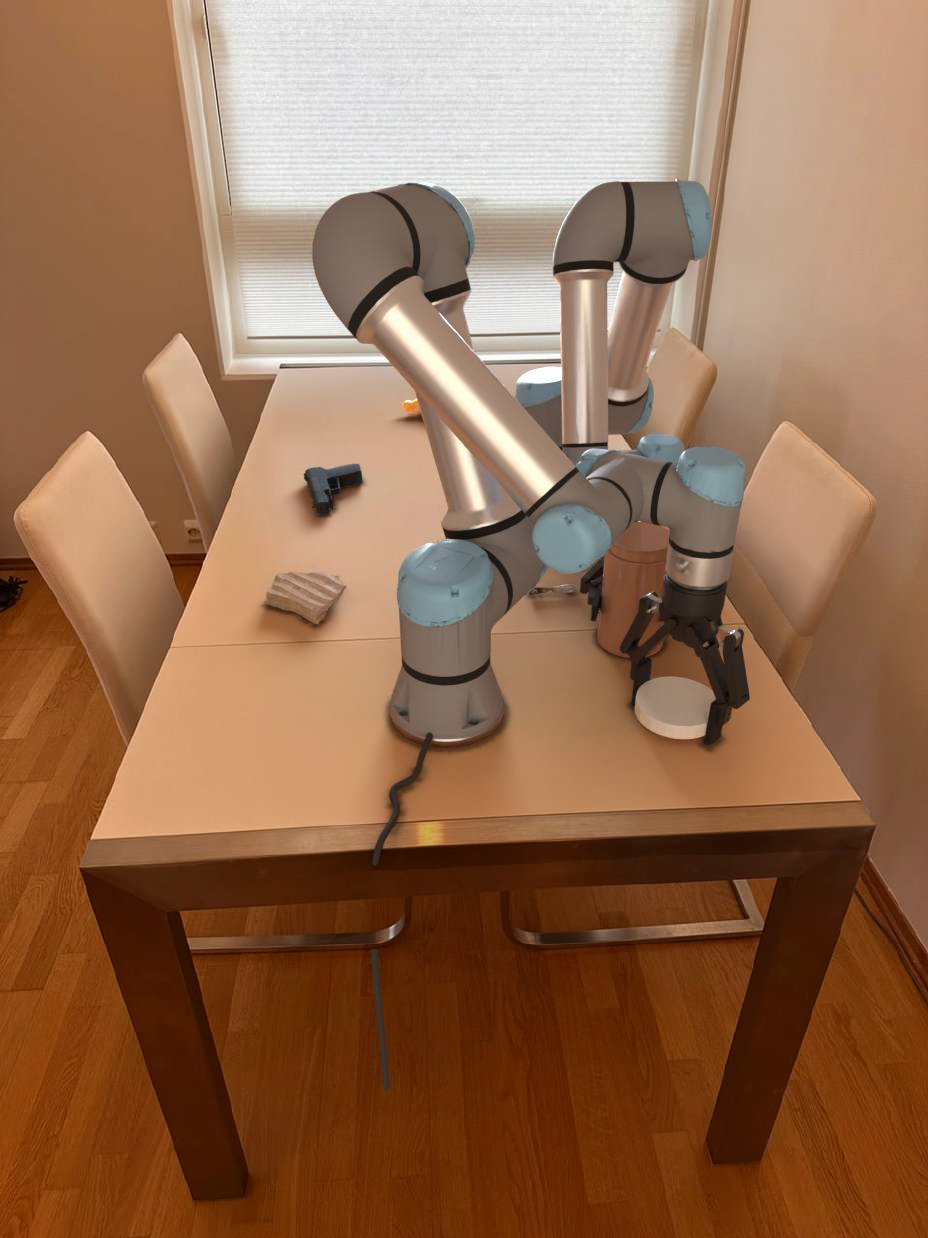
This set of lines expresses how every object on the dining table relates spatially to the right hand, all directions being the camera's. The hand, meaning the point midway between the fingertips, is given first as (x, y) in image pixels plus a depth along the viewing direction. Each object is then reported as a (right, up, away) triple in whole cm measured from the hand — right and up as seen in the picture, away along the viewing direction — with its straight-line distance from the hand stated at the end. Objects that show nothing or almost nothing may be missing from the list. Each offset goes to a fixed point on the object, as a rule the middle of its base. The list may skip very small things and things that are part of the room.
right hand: (630, 618), depth 129 cm
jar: (+1, -3, +7) cm, 8 cm away
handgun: (-50, +25, +53) cm, 77 cm away
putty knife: (-9, +4, +18) cm, 21 cm away
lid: (+4, -11, -11) cm, 16 cm away
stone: (-50, +2, +16) cm, 53 cm away
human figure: (-27, +53, +97) cm, 114 cm away
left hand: (+4, -14, -10) cm, 17 cm away
